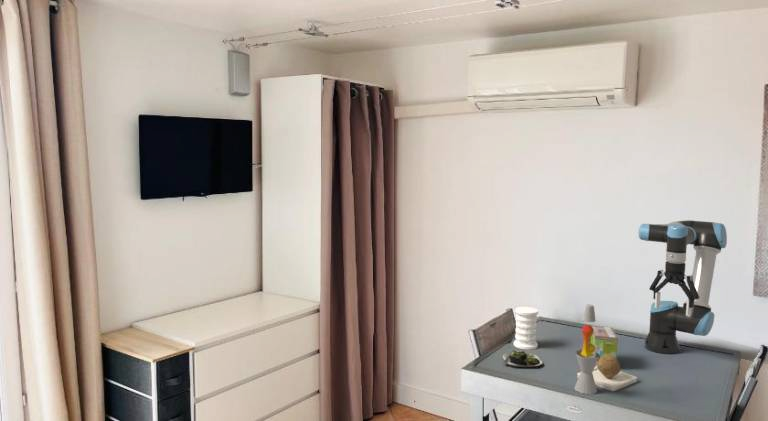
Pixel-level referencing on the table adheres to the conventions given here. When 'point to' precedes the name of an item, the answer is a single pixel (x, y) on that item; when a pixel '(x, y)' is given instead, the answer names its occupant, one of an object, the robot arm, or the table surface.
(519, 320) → the decorative container
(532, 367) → the salad plate
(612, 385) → the tray
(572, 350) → the table surface
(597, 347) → the tea box
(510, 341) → the table surface
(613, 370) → the natural sponge
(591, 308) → the lava lamp
